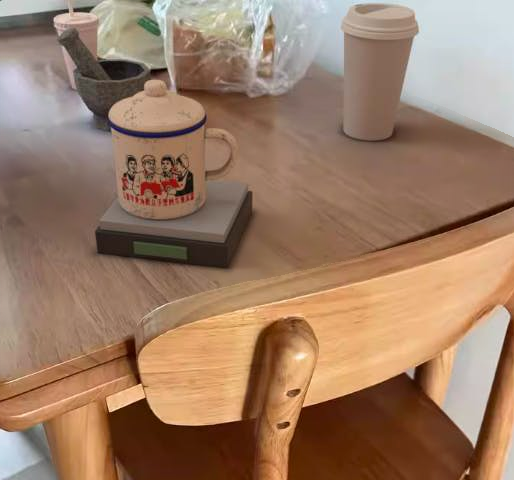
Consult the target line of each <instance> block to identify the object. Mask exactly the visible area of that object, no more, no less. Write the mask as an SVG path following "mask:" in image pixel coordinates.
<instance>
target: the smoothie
mask: <svg viewBox="0 0 514 480" xmlns="http://www.w3.org/2000/svg"><path fill="white" fill-rule="evenodd" d="M67 5H68V12H66V13H60V14H58V15H55V17H53V27H54V28H55V29H56V30H57V34H58V37H59V36H60V35H61V34H62V33H63V32H64V31H66V30H68V29H70V28H75V29H76V30H77V31H78V33H79V38H80V39H81V40H82V42H83V43H84V44H85V46H86V47H87V48H88V50H89V51H90V52H91V54H92V55H93V56H94V58H95V59H96V60H97V61H98V27H100V25H101V24H100V20H99V19H100V18H99V16H98V15H97V14H95V13H90V12H82V11H81V12H80V11H77V12H74V5H73V0H67ZM60 46H61V49H62V54H63V58H64V62H65V66H66V69H67V73H68V77H69V80H70V85H71V88H72V89H73V90H76V91H77V88H76V85H75V81H74V74H73V70H75V69H76V68H77V67H76V65H75V63H74V62H73V60H72V59H71V57H70V55H69V54H68V52H67V50H66V49H65V47H64V46H62V45H60Z"/></svg>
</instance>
